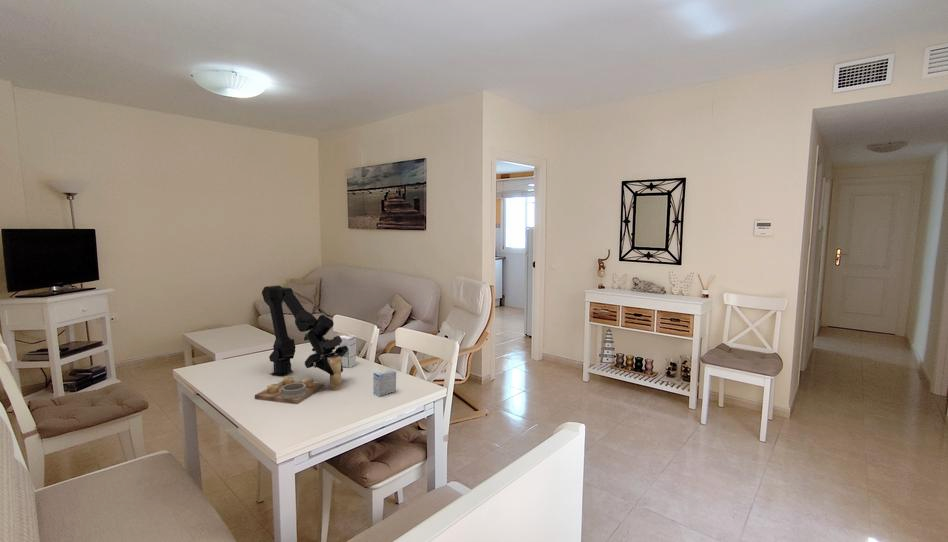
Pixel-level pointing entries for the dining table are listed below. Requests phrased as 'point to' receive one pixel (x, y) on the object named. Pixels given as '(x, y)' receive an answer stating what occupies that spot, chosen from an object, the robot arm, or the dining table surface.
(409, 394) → the dining table surface
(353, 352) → the syrup box
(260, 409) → the dining table surface
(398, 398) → the dining table surface
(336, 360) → the stool leg
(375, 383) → the medicine box
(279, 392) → the stool seat
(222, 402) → the dining table surface
